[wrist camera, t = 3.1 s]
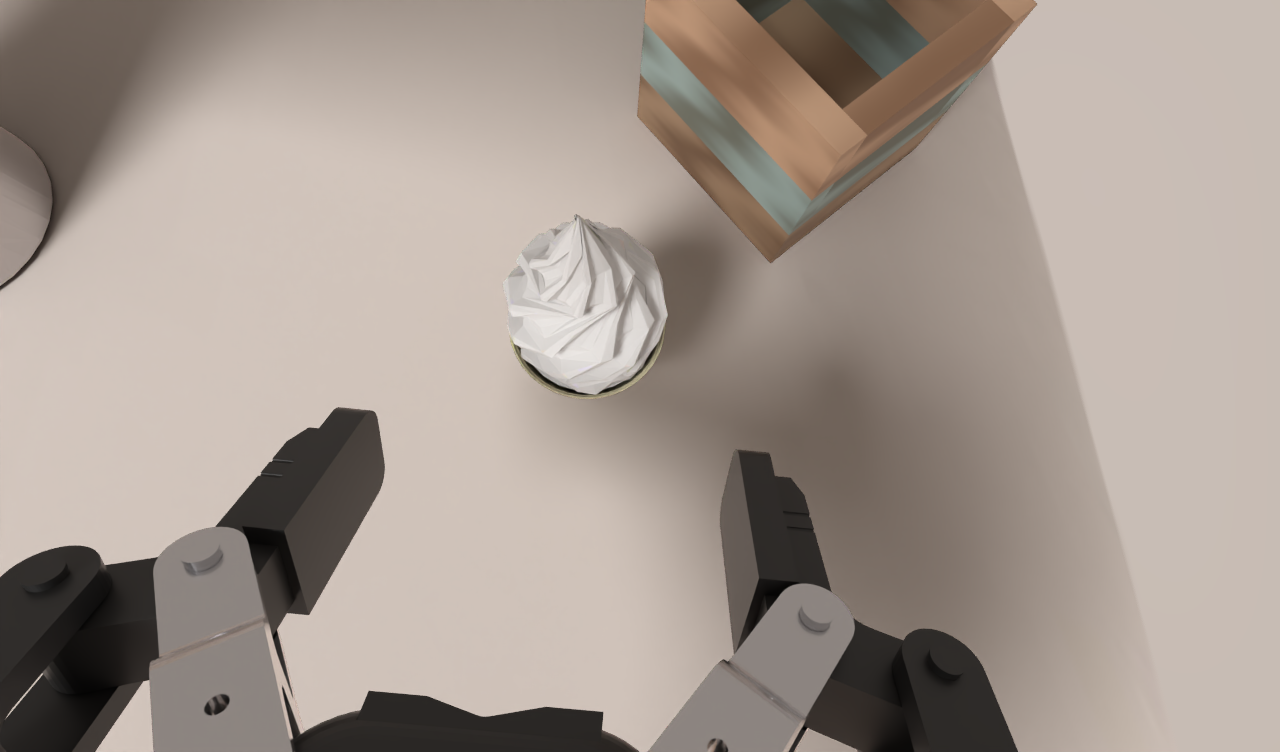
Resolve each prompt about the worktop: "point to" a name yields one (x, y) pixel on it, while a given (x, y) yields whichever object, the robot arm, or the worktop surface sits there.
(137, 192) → the worktop surface
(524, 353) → the ice cream cone
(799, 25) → the square wooden crate
